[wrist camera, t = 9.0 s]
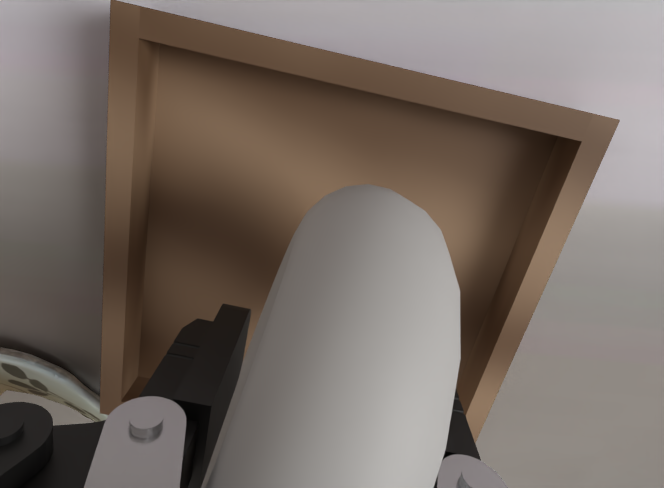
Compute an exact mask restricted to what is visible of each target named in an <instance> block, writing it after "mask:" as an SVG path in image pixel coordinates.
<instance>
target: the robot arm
mask: <svg viewBox="0 0 664 488" xmlns="http://www.w3.org/2000/svg"><path fill="white" fill-rule="evenodd" d="M250 317H251V309H248V308H243V307H238V306H233V305H229V304H224V303H223V304H222V306H221V307H220V309H219V311H218V313H217V315H216V317H215V319H214V321H208V320H203V319H198V318H197V319H196V320H194V321H192V322H191V323H189V324H188V325H186V326H185V327H183V328H182V329H181V331H180V332H179V334H178V335H177V337H176V338H175V340H174V343H173V344H172V345H171V346H170V348H169V350H168V351H167V354H166V355H165V356H164V357H163V359H162V361H161V362H160V364H159V365H158V367H157V369H156V370H155V372H154V373H153V375H152V376H151V378H150V380H149V381H148V383H147V384H146V386H145V388H144V389H143V391H142V392H141V394H140V395H139V397H138V398H135V399H132V400H129V401H127V402H125V403H123V404H121V405H120V406H118V407H117V408H115V409H114V410H113V411H112V412H111V413H110V414H109V416H108V417H107V419H106V420H103V421H99V422H94V423H86V424H72V425H58V426H53V421H52V417H51V415H50V413H49V412H48V411H47V410H46V409H44V408H43V407H41V406H39V405H36V404H32V403H26V402H13V403H5V404H0V488H201V486H202V483H203V481H204V478H205V475H206V472H207V469H208V466H209V463H210V460H211V457H212V454H213V452H214V449H215V446H216V443H217V440H218V437H219V434H220V431H221V428H222V426H223V423H224V420H225V417H226V414H227V411H228V408H229V405H230V402H231V399H232V397H233V394H234V391H235V388H236V385H237V382H238V379H239V375H240V371H241V367H242V363H243V358H244V352H245V346H246V340H247V334H248V328H249V323H250ZM463 412H464V410H463V407H462V404H461V401H459V396H458V393H457V390H455V396H454V402H453V408H452V414H451V420H450V426H449V432H448V439H447V445H446V450H445V453H444V456H443V459H442V462H441V466H440V469H439V472H438V475H437V478H436V481H435V484H434V488H508V487H507V485H506V484H505V482H504V481H503V479H502V478H501V477H500V476H499V475H498V474H497V472H496V471H494V470H493V469H492V468H491V467H490V466H488V465H487V464H485V463H484V462H482V461H481V459H480V456H479V453H478V451H477V448H476V445H475V442H474V439H473V436H472V433H471V430H470V427H469V425H468V422H467V419H466V416H465V414H463Z"/></svg>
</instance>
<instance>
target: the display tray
mask: <svg viewBox="0 0 664 488" xmlns="http://www.w3.org/2000/svg"><path fill="white" fill-rule="evenodd" d="M619 121H620V120H618V119H613V118H609V117H605V116H601V115H597V114H592V113H588V112H584V111H580V110H575V109H571V108H567V107H563V106H559V105H554V104H550V103H546V102H542V101H538V100H533V99H529V98H525V97H521V96H516V95H512V94H508V93H504V92H500V91H495V90H491V89H487V88H483V87H478V86H474V85H470V84H466V83H462V82H457V81H453V80H449V79H445V78H441V77H436V76H432V75H428V74H424V73H419V72H415V71H411V70H407V69H403V68H398V67H394V66H390V65H386V64H381V63H377V62H373V61H369V60H365V59H360V58H356V57H352V56H348V55H344V54H339V53H335V52H331V51H327V50H322V49H318V48H314V47H310V46H306V45H301V44H297V43H293V42H289V41H285V40H280V39H276V38H272V37H268V36H263V35H259V34H255V33H251V32H247V31H242V30H238V29H234V28H230V27H225V26H221V25H217V24H213V23H209V22H204V21H200V20H196V19H192V18H188V17H183V16H179V15H175V14H171V13H166V12H162V11H158V10H154V9H150V8H145V7H141V6H137V5H133V4H129V3H124V2H120V1H116V0H111V5H110V42H109V80H108V118H107V155H106V193H105V231H104V268H103V306H102V344H101V381H100V414H105V415H109V414H110V413H111V412H112V411H113V410H114V409H115V408H117V407H118V406H120V405H121V404H123V403H125V402H127V401H129V400H132V399H135V398H138V397H139V395H140V394H141V392H142V391H143V389H144V388H145V386H146V384H147V383H148V381H149V380H150V378H151V376H152V375H153V373H154V372H155V370H156V369H157V367H158V365H159V364H160V362H161V361H162V359H163V357H164V356H165V355H166V354H167V351H168V350H169V348H170V346H171V345H172V344H173V343H174V340H175V338H176V337H177V335H178V334H179V332H180V331H181V329H182V328H183V327H185V326H186V325H188V324H189V323H191V322H192V321H194V320H196V319H197V318H198V319H203V320H208V321H214V319H215V317H216V315H217V313H218V311H219V309H220V307H221V306H222V304H223V303H224V304H229V305H233V306H238V307H243V308H248V309H251V317H250V323H249V328H248V334H247V340H246V346H245V352H244V357H245V355H246V352H247V350H248V347H249V344H250V342H251V339H252V336H253V334H254V331H255V328H256V326H257V323H258V321H259V318H260V315H261V313H262V310H263V308H264V305H265V302H266V300H267V297H268V295H269V292H270V290H271V287H272V285H273V282H274V280H275V277H276V275H277V272H278V270H279V267H280V265H281V262H282V260H283V258H284V255H285V253H286V250H287V248H288V246H289V244H290V242H291V239H292V237H293V235H294V233H295V231H296V230H297V228H298V226H299V224H300V223H301V221H302V219H303V217H304V216H305V215H306V213H307V212H308V211H309V210H310V209H311V208H312V207H313V206H314V205H315V204H316V203H317V202H319V201H320V200H321V199H322V198H323V197H324V196H325V195H327V194H330V193H332V192H334V191H337V190H339V189H341V188H343V187H346V186H354V185H364V184H370V185H375V186H379V187H384V188H388V189H391V190H393V191H394V192H396V193H398V194H399V195H401V196H403V197H404V198H406V199H408V200H409V201H411V202H412V203H414V204H415V205H417V206H418V207H420V208H422V209H423V210H425V211H426V212H427V214H428V215H429V216H430V217H431V218H432V220H433V221H434V222H435V223H436V224H437V226H438V227H439V228H440V229H441V231H442V234H443V237H444V240H445V242H446V245H447V248H448V251H449V254H450V257H451V261H452V264H453V268H454V271H455V275H456V278H457V282H458V285H459V289H460V344H461V359H460V365H459V371H458V377H457V384H456V390H457V393H458V396H459V401H461V404H462V407H463V410H464V412H463V414H465V416H466V419H467V422H468V425H469V427H470V430H471V433H472V436H473V439H474V442H476V440H477V438H478V436H479V434H480V431H481V429H482V427H483V425H484V422H485V420H486V418H487V416H488V413H489V411H490V409H491V407H492V405H493V402H494V400H495V398H496V396H497V393H498V391H499V389H500V387H501V384H502V382H503V380H504V378H505V376H506V373H507V371H508V369H509V367H510V364H511V362H512V360H513V358H514V355H515V353H516V351H517V349H518V347H519V344H520V342H521V340H522V338H523V335H524V333H525V331H526V329H527V326H528V324H529V322H530V320H531V318H532V315H533V313H534V311H535V309H536V306H537V304H538V302H539V300H540V297H541V295H542V293H543V291H544V288H545V286H546V284H547V282H548V280H549V277H550V275H551V273H552V271H553V268H554V266H555V264H556V262H557V259H558V257H559V255H560V253H561V251H562V248H563V246H564V244H565V242H566V239H567V237H568V235H569V233H570V230H571V228H572V226H573V224H574V222H575V219H576V217H577V215H578V213H579V210H580V208H581V206H582V204H583V201H584V199H585V197H586V195H587V193H588V190H589V188H590V186H591V184H592V181H593V179H594V177H595V175H596V172H597V170H598V168H599V166H600V164H601V161H602V159H603V157H604V155H605V152H606V150H607V148H608V146H609V143H610V141H611V139H612V137H613V135H614V132H615V130H616V128H617V126H618V123H619ZM243 360H244V358H243Z"/></svg>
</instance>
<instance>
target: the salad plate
mask: <svg viewBox="0 0 664 488" xmlns="http://www.w3.org/2000/svg"><path fill="white" fill-rule="evenodd" d="M6 390H10V391H17V392H23V393H30V394H34V395H38V396H41V397H44V398H46V399H49V400H52V401H55V402H58V403H61V404H64V405H66V406H68V407H70V408H72V409H74V410H76V411H78V412H80V413H81V414H82V415H84V416H85V417H87V418H90V419H92V420H93V421H94V422H99V421H103V420H106V419H107V417H108V416H109V415H105V414H100V396H99V395H97V394H96V393H94V392H93V391H91V390H90V389H89V388H87V387H86V386H84V385H83V384H82V383H81V382H80V381H79V380H78V379H77V378H76V377H75V376H74V375H72V374H71V373H70V372H68V371H66V370H64V369H63V368H61V367H59V366H57V365H54V364H52V363H50V362H47V361H45V360H43V359H40V358H38V357H36V356H34V355H31V354H28V353H24V352H20V351H17V350H13V349H8V348H2V347H0V395H1V394H2V393H3V392H5V391H6Z"/></svg>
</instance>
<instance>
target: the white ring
mask: <svg viewBox="0 0 664 488" xmlns="http://www.w3.org/2000/svg"><path fill="white" fill-rule="evenodd" d="M460 359H461V344H460V289H459V285H458V282H457V278H456V275H455V271H454V268H453V264H452V261H451V257H450V254H449V251H448V248H447V245H446V242H445V240H444V237H443V234H442V231H441V229H440V228H439V227H438V226H437V224H436V223H435V222H434V221H433V220H432V218H431V217H430V216H429V215H428V214H427V212H426V211H425V210H423V209H422V208H420V207H418V206H417V205H415V204H414V203H412V202H411V201H409V200H408V199H406V198H404V197H403V196H401V195H399V194H398V193H396V192H394V191H393V190H391V189H388V188H384V187H379V186H375V185H370V184H364V185H354V186H346V187H343V188H341V189H339V190H337V191H334V192H332V193H330V194H327V195H325V196H324V197H323V198H322V199H321V200H320V201H319V202H317V203H316V204H315V205H314V206H313V207H312V208H311V209H310V210H309V211H308V212H307V213H306V215H305V216H304V217H303V219H302V221H301V223H300V224H299V226H298V228H297V230H296V231H295V233H294V235H293V237H292V239H291V242H290V244H289V246H288V248H287V250H286V253H285V255H284V258H283V260H282V262H281V265H280V267H279V270H278V272H277V275H276V277H275V280H274V282H273V285H272V287H271V290H270V292H269V295H268V297H267V300H266V302H265V305H264V308H263V310H262V313H261V315H260V318H259V321H258V323H257V326H256V328H255V331H254V334H253V336H252V339H251V342H250V344H249V347H248V350H247V352H246V355H245V357H244V360H243V363H242V367H241V371H240V375H239V379H238V382H237V385H236V388H235V391H234V394H233V397H232V399H231V402H230V405H229V408H228V411H227V414H226V417H225V420H224V423H223V426H222V428H221V431H220V434H219V437H218V440H217V443H216V446H215V449H214V452H213V454H212V457H211V460H210V463H209V466H208V469H207V472H206V475H205V478H204V481H203V483H202V486H201V488H434V484H435V481H436V478H437V475H438V472H439V469H440V466H441V462H442V459H443V456H444V453H445V450H446V445H447V439H448V432H449V426H450V420H451V414H452V408H453V402H454V396H455V390H456V384H457V377H458V371H459V365H460Z"/></svg>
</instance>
